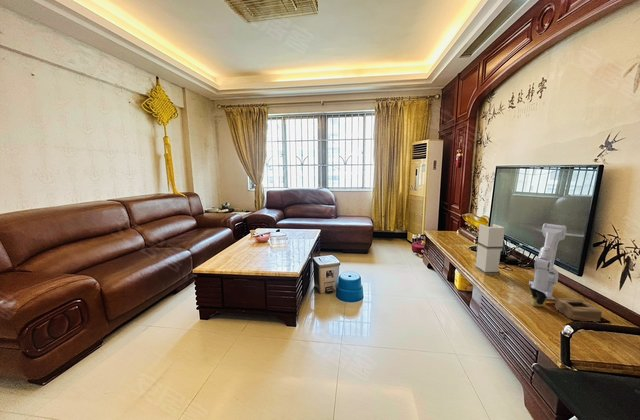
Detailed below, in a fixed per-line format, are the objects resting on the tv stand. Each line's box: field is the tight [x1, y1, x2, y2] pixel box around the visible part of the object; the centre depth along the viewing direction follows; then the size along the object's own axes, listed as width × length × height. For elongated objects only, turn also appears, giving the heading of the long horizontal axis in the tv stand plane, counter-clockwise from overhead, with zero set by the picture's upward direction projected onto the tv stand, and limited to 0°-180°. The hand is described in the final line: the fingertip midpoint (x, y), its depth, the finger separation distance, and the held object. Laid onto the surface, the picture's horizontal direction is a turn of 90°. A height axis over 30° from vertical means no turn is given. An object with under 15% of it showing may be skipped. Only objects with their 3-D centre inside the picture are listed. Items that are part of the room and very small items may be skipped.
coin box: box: [554, 297, 603, 323], centre depth 132 cm, size 12×12×6 cm
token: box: [529, 296, 547, 307], centre depth 141 cm, size 3×6×4 cm, turn 82°
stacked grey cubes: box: [475, 223, 505, 276], centre depth 185 cm, size 11×11×35 cm
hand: (537, 302), depth 141 cm, fingers closed on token, 3 cm apart
